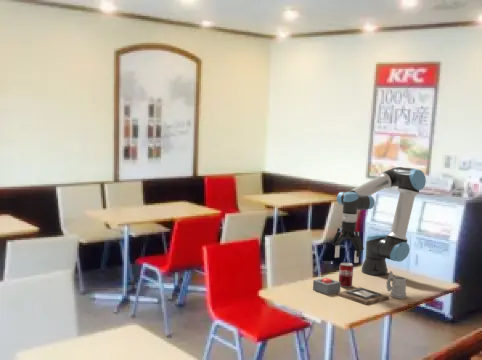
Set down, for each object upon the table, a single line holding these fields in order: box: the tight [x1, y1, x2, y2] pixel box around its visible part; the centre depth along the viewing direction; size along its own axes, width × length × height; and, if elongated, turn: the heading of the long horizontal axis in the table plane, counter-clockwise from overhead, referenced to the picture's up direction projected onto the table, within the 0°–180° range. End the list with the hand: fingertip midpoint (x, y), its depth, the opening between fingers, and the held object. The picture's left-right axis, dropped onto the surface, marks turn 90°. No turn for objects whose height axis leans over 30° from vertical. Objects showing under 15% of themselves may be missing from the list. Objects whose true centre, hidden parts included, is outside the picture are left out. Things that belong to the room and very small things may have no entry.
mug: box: [386, 270, 407, 300], centre depth 304 cm, size 8×12×12 cm, turn 35°
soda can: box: [338, 262, 354, 288], centre depth 318 cm, size 7×7×12 cm
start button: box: [321, 277, 333, 284], centre depth 308 cm, size 5×5×5 cm
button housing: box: [312, 278, 341, 295], centre depth 308 cm, size 10×10×5 cm
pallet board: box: [337, 287, 390, 306], centre depth 299 cm, size 18×18×2 cm
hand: (346, 259), depth 317 cm, fingers open, 13 cm apart
